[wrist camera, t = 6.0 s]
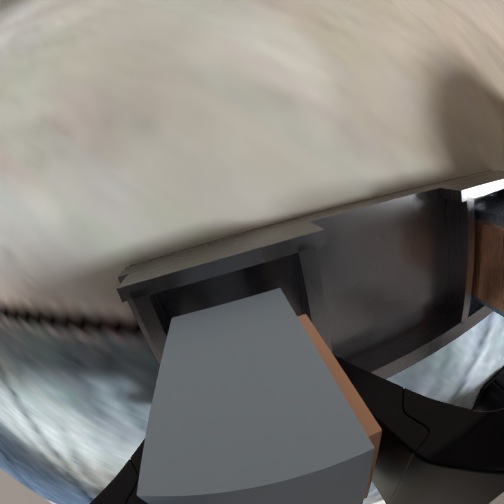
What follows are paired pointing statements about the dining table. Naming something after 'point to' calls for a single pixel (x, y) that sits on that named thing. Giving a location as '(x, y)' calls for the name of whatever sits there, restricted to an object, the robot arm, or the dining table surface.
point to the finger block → (255, 413)
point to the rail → (350, 272)
